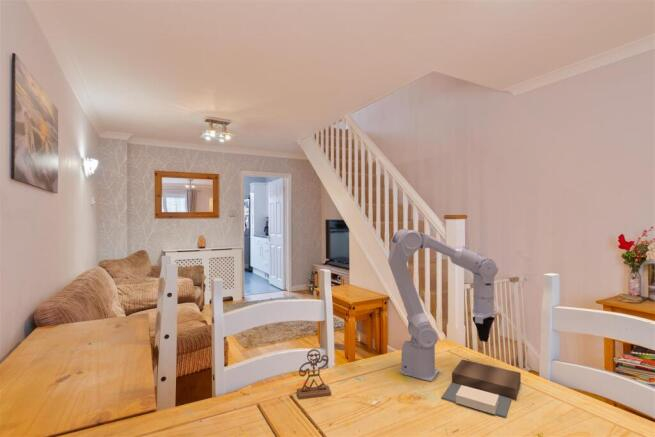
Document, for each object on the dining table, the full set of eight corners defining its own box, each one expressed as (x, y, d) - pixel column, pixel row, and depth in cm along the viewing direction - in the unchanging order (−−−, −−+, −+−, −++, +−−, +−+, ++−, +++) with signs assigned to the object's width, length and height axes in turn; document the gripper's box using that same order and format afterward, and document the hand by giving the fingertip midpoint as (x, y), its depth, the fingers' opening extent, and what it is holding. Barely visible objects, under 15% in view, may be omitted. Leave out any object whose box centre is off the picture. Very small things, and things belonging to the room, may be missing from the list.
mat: (441, 398, 88) (441, 397, 88) (451, 383, 96) (451, 382, 96) (505, 418, 79) (505, 416, 79) (511, 400, 87) (511, 398, 87)
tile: (461, 385, 90) (461, 392, 90) (455, 394, 85) (455, 402, 85) (498, 395, 85) (498, 402, 85) (494, 406, 80) (494, 414, 80)
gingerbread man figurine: (298, 399, 88) (298, 353, 88) (296, 392, 92) (296, 348, 92) (331, 395, 90) (331, 350, 90) (328, 388, 94) (328, 345, 94)
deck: (452, 383, 96) (452, 372, 96) (461, 368, 105) (461, 359, 105) (515, 400, 87) (515, 388, 87) (520, 383, 96) (520, 372, 96)
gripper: (493, 303, 95) (494, 351, 95) (501, 293, 107) (502, 336, 107) (467, 300, 99) (467, 346, 99) (477, 291, 111) (478, 332, 111)
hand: (483, 340), depth 103 cm, fingers closed
